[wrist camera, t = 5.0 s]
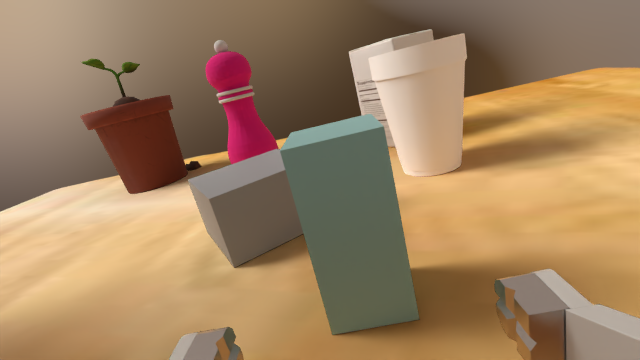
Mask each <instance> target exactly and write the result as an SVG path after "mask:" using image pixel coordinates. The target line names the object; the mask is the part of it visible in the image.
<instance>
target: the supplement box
mask: <svg viewBox="0 0 640 360" xmlns="http://www.w3.org/2000/svg"><path fill="white" fill-rule="evenodd" d="M430 41H434V40H433V33H432V30H431V29H429V30H425V31H421V32H416V33H412V34H407V35H403V36H398V37H394V38H390V39H386V40H383V41H380V42H377V43H374V44H371V45H368V46H365V47H361V48H358V49H355V50H352V51H349V56H350V61H351V65H352V70H353V75H354V80H355V85H356V90H357V94H358V99H359V104H360V109H361V114H362V116H363V115H367V114H372V115H373V116H374V117H375V118H376V119H377V120H378V121H379V122H380V123H381V124H382V125H383V126H384V129H385V134H386V140H387V145H388V147H395V144H394V141H393V137H392V134H391V131H390V128H389V125H388V122H387V119H386V116H385V112H384V109H383V106H382V103H381V100H380V97H379V94H378V90H377V87H376V84H375V81H372V76H371V70H370V65H369V60H368V58H370V57H374V56H377V55H381V54H385V53H388V52H392V51H396V50H399V49H403V48H407V47H411V46H415V45H419V44H422V43H426V42H430Z"/></svg>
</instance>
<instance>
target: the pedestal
mask: <svg viewBox="0 0 640 360" xmlns="http://www.w3.org/2000/svg"><path fill="white" fill-rule="evenodd" d="M280 150H281V149H274V150H272V151H269V152H266V153H263V154H260V155H257V156H254V157H251V158H249V159H246V160H243V161H240V162H237V163H234V164H231V165H228V166H226V167H223V168H220V169H217V170H214V171H211V172H208V173H205V174H203V175H200V176H197V177H194V178H191V179H188V183H189V185H190V188H191V190H192V193H193V196H194V198H195V201H196V203H197V206H198V209H199V211H200V214H201V217H202V219H203V222H204V224H205V227H206V230H207V232H208V234H209V235H210V236H211V238H212V239H213V240H214V242H215V243H216V244H217V246H218V247H219V248H220V249H221V251H222V252H223V253H224V255H225V256H226V257H227V259H228V260H229V261H230V263H231V264H232V265H233V267H234V268H235V267H237V266H239V265H241V264H243V263H245V262H247V261H249V260H251V259H253V258H255V257H257V256H259V255H261V254H263V253H265V252H267V251H269V250H271V249H273V248H275V247H277V246H279V245H281V244H283V243H285V242H288V241H290V240H292V239H294V238H296V237H298V236H300V235H302V234H303V230H302V227H301V223H300V220H299V216H298V213H297V209H296V206H295V202H294V199H293V195H292V192H291V188H290V185H289V181H288V178H287V174H286V171H285V167H284V164H283V160H282V157H281V153H280Z"/></svg>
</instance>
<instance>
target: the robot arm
mask: <svg viewBox="0 0 640 360" xmlns="http://www.w3.org/2000/svg"><path fill="white" fill-rule="evenodd" d="M494 285H495V292H496V293H497V295H498V296H499V297H500V299H499V300H498V302H497V303H496V307H497V314H498V317H499V320H500V323H501V325H502V327H503V329H504V331H505V333H506V334H507V336H508V337H509V338H510V339H512V340H514V341H516V342H517V351H518V352H519V353H520V355H521V356H522V358H523V359H524V360H640V318H637V317H634V316H631V315H628V314H626V313H623V312H620V311H617V310H614V309H612V308H609V307H606V306H603V305H600V304H597V305H593V304H592V303H590V302H589V301H588V300H587V299H586V298H585V297H584V296H582V295H581V294H580V293H579V292H578V291H577V290H575V289H574V288H573V287H572V286H571V285H570V284H569V283H567V282H566V281H565V280H564V279H563V278H562V277H560V276H559V275H558V274H557V273H556V272H555V271H554V270H551V269H545V270H540V271H535V272H531V273H527V274H522V275H516V276H511V277H506V278H500V279H495V284H494ZM235 338H236V336H235V334H234V331H233V329H232V328H230V327H226V328H220V329H213V330H207V331H200V332H195V333H189V334H185V335H183V336H182V337H181V338H180V340H179V342H178V344H177V346H176V347H175V349H174V351H173V353H172V354H171V356H170V358H169V360H244V359H243V354H242V351H241V349H240V347H238V346H237V345H235V344H234V341H235Z"/></svg>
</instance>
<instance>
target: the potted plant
mask: <svg viewBox="0 0 640 360" xmlns="http://www.w3.org/2000/svg"><path fill="white" fill-rule="evenodd" d="M82 63H83V64H86V65H90V66H93V67H96V68H99V69H103V70H108V71H111V72H112V73H113V74H114V75H115V76H116V79H117V82H118V85H119V87H120V90H121V93H122V96H123V97H122V98H121V99H119V100H117V101H116V102H115V104H114V105H113V107H110V108H106V109H102V110H98V111H95V112H91V113H88V114H85V115H82V116H81V119H82V120H83V122H84V124H85V125H86V127H87V129H88V130H92V129H95V130H96V132H97V134H98V136H99V138H100V140H101V142H102V143H103V145H104V147H105V149H106V151H107V153H108V155H109V156H110V158H111V160H112V162H113V164H114V166H115V168H116V170H117V172H118V173H119V175H120V177H121V179H122V181H123V183H124V185H125V187H126V188H127V190H128V192H129V193H130V194H134V193H141V192H145V191H149V190H153V189H156V188H159V187H162V186H165V185H168V184H170V183H173V182H175V181H177V180H179V179H181V178H183V177H185V176H186V175H187V174H188V173H187V170H188V171H189V170H194V169H197V168H199V167H201V166H200V164H199V163H198V161H191V162H190V164H186V166H185V163H184V160H183V156H182V153H181V150H180V147H179V144H178V140H177V137H176V134H175V130H174V127H173V124H172V121H171V117H170V114H169V111H168V110H171V109H173V105H172V102H171V98H170V95H166V96H160V97H155V98H150V99H145V100H139V99H137V98H134V97H126V96H125V93H124V90H123V88H122V85H121V82H120V80H119V76H120V75H121V74H122V73H124V72H125V73H130V72H133V71H135V70H136V69H137V67H138V66H139V65H140V64H135V63H132V62H125V63H123V65H122V70H123V71H122V72H120V73H118V74H116V72H115V71H113V70H111V69H108V68H105V67H104V64H103V63H102V62H101V61H100V60H97V59H90V60H88V61H84V62H82Z"/></svg>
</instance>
